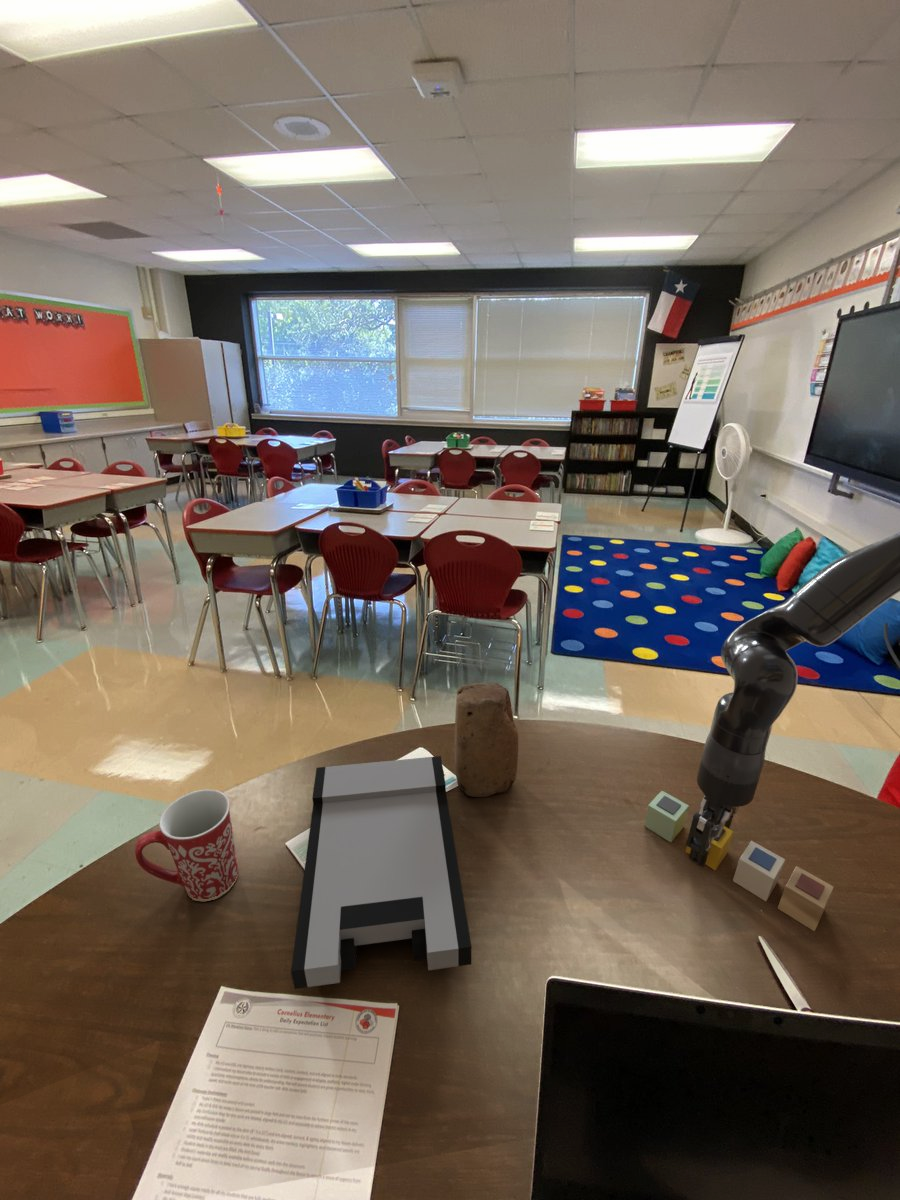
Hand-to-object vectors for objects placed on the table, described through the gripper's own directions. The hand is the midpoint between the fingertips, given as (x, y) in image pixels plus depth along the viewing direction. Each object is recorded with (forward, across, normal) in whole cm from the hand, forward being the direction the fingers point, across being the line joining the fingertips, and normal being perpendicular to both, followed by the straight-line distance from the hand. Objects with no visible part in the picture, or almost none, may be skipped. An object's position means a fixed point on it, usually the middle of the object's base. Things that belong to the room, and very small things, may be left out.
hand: (708, 845), depth 83 cm
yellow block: (+1, 0, 0) cm, 1 cm away
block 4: (+1, 0, -13) cm, 13 cm away
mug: (+2, -59, +49) cm, 77 cm away
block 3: (+1, 0, -7) cm, 7 cm away
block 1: (+2, -14, +34) cm, 37 cm away
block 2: (+1, 0, +7) cm, 7 cm away
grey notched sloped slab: (+2, -39, +31) cm, 50 cm away
